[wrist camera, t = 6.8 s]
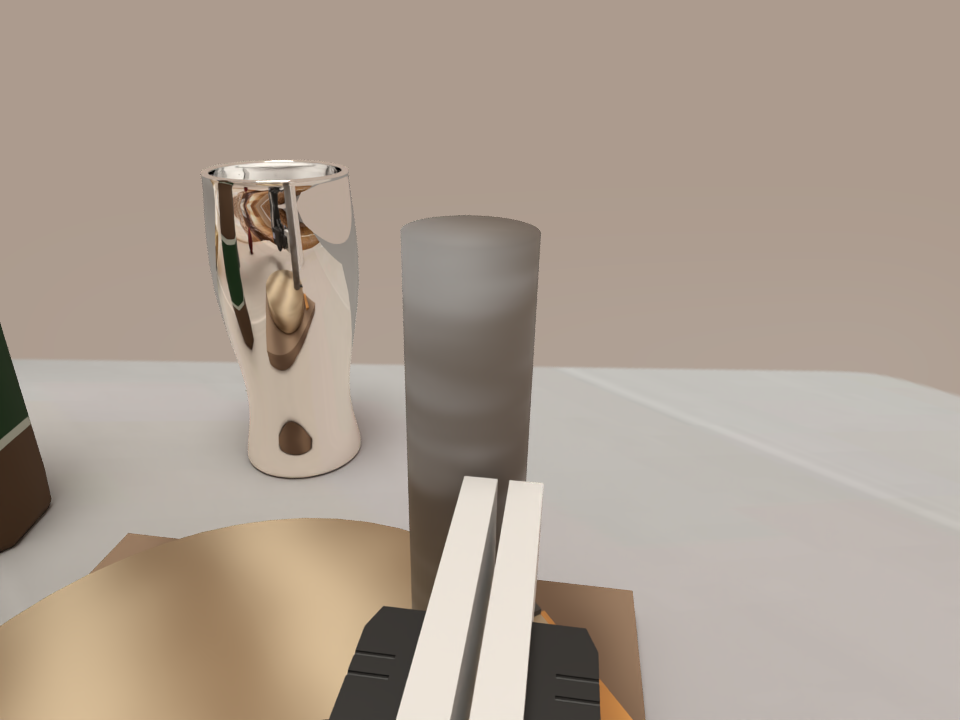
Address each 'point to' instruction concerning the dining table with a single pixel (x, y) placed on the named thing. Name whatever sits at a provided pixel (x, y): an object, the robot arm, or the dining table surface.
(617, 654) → the dial base
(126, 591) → the cam dial
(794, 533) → the dining table surface
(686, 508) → the dining table surface
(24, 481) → the beer bottle
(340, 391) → the beer glass
